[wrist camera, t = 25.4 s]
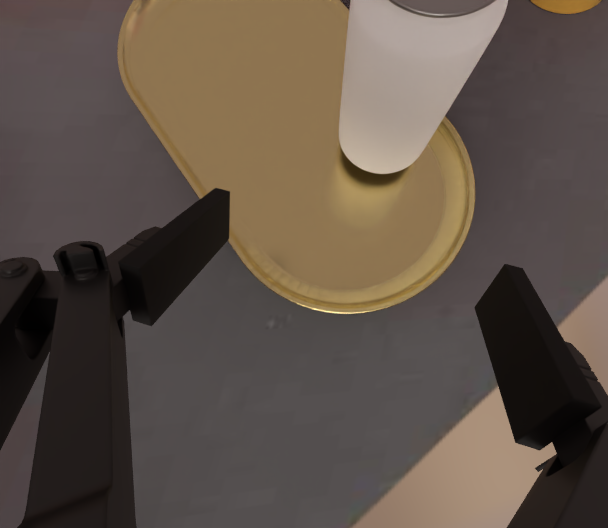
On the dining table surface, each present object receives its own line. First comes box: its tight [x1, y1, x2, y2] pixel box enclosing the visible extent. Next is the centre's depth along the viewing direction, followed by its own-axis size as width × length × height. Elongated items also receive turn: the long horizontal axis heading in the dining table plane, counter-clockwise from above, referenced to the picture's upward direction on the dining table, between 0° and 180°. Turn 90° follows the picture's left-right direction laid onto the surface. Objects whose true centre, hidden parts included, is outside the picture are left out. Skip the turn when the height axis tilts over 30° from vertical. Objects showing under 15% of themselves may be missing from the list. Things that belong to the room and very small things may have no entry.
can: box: [339, 0, 508, 174], centre depth 17 cm, size 6×6×12 cm
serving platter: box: [117, 0, 475, 314], centre depth 25 cm, size 19×35×2 cm, turn 35°
